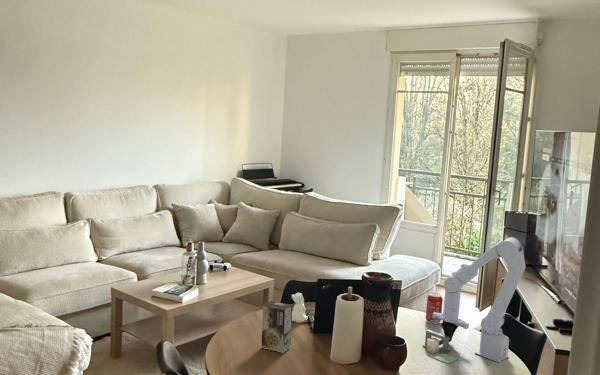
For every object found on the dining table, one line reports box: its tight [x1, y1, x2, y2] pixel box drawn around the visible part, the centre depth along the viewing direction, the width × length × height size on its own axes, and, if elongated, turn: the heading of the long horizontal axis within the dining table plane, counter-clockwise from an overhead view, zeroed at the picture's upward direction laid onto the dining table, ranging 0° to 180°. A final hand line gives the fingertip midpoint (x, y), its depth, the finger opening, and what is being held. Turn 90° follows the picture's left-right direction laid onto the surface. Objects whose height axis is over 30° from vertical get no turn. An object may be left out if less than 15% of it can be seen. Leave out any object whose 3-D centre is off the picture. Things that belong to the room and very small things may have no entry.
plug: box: [426, 337, 443, 354], centre depth 206 cm, size 4×12×4 cm, turn 133°
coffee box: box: [261, 300, 293, 353], centre depth 197 cm, size 9×6×16 cm
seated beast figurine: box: [291, 292, 309, 322], centre depth 226 cm, size 10×9×12 cm
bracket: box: [422, 329, 451, 355], centre depth 205 cm, size 9×4×6 cm, turn 44°
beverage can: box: [425, 292, 444, 325], centre depth 233 cm, size 6×6×12 cm
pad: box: [433, 353, 458, 365], centre depth 197 cm, size 6×6×1 cm
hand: (448, 341), depth 211 cm, fingers closed, pressing on plug
